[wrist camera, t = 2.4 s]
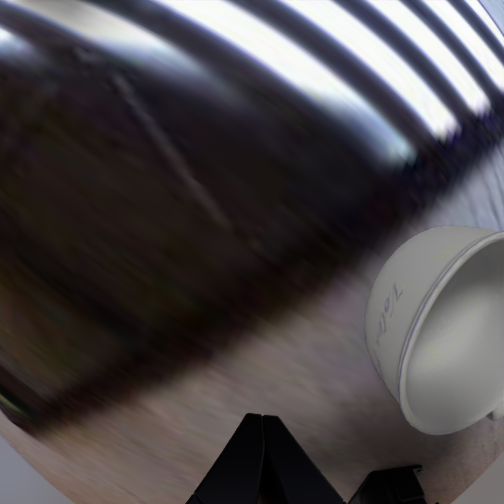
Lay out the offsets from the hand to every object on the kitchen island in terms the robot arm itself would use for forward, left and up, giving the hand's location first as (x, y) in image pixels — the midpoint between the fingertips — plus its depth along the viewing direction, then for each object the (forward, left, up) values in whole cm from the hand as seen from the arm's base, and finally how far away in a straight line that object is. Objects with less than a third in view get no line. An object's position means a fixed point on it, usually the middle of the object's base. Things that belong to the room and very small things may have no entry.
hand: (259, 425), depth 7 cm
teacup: (0, -12, -11) cm, 16 cm away
